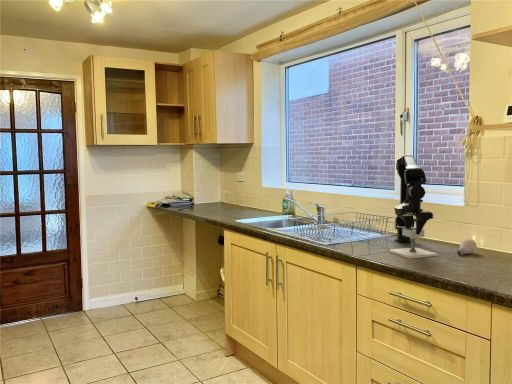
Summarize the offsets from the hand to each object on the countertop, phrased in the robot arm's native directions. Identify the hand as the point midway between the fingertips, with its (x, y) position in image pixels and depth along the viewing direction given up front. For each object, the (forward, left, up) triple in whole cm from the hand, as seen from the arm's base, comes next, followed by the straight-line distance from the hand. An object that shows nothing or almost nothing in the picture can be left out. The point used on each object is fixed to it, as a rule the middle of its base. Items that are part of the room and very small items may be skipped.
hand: (413, 233), depth 199 cm
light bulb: (+8, +21, -9) cm, 24 cm away
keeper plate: (0, 0, -9) cm, 9 cm away
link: (0, 0, -1) cm, 1 cm away
